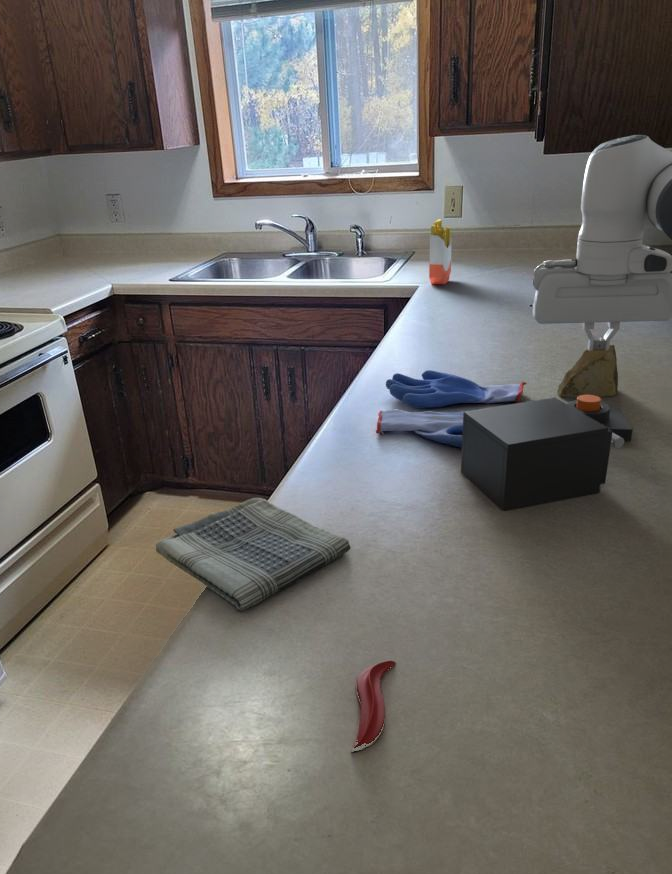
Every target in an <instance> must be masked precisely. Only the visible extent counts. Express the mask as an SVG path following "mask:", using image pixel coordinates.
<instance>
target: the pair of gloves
mask: <svg viewBox="0 0 672 874" xmlns="http://www.w3.org/2000/svg"><path fill="white" fill-rule="evenodd" d="M421 377H422V379H418V378H413V377H411V376H408V375H405V374H402V373H394V374H392V378H389V379H386V381H385V387H386V389H387V390H388V391H389V393H390V396H392V397H394V398H395V399H397V400H399V401H402V402H403V403H404V404H405V405H406V406H408V407H412V408H415V409H425V408H440V407H446V406H450V405H455V404H472V403H473V404H474V403H475V404H476V403H483V404H494V403H495V404H496V403H510V402H515V404H516V403H520V401H521V397H522V395H523V392H524V386H525V385H527V382H525V381H522V382H520V383H518V384H501V385H494V384H493V385H486V386H484V385H482V384H478V383H477V382H474V381H473V380H470V379H467V378H465V377H462V376H459V375H455V374H452V373H451V374H450V373H448V372H447V373H446V372H440V371H436V370H430V369H429V370H427V369H426V370H424V371H423V372H422V373H421ZM465 411H466V410H462V411H450V412H449V411H447V412H446V411H444V412H443V411H431V410H424V411H422V412H421V411H419V412H418V411H416V412H415V411H414V412H412V411H406V410H403V409H397V408H395V409H394V408H393V409H388V410H379V412H378V419H377V422H376V429H375V433H376V434H380V433H381V434H382V435H385V433H384V432H390V431H391V432H414V433H415V434H417V435H419V436H421V437H423V438H425V439H427V440H431V441H434V442H437V443H441V444H445V445H450V446H452V447H457V448H461V449H462V434H463V413H464V412H465Z"/></svg>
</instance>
